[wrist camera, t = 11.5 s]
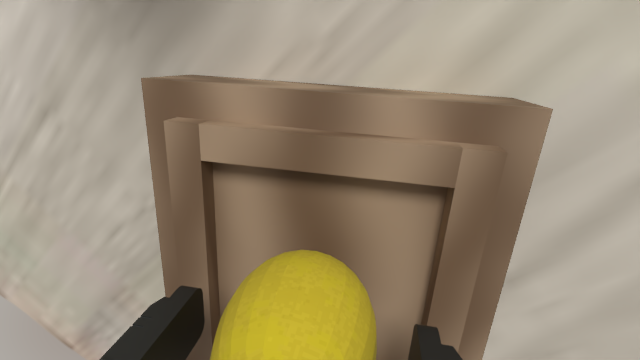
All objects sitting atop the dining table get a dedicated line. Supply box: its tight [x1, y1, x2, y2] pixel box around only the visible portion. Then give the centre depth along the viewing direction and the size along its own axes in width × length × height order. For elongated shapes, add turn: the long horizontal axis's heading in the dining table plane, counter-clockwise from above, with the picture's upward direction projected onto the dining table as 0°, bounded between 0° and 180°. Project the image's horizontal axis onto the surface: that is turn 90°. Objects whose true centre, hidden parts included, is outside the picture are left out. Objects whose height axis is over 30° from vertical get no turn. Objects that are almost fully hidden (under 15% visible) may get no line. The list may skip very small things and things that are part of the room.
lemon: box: [210, 250, 377, 360], centre depth 12 cm, size 6×6×8 cm
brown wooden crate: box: [141, 75, 553, 360], centre depth 17 cm, size 16×16×5 cm
